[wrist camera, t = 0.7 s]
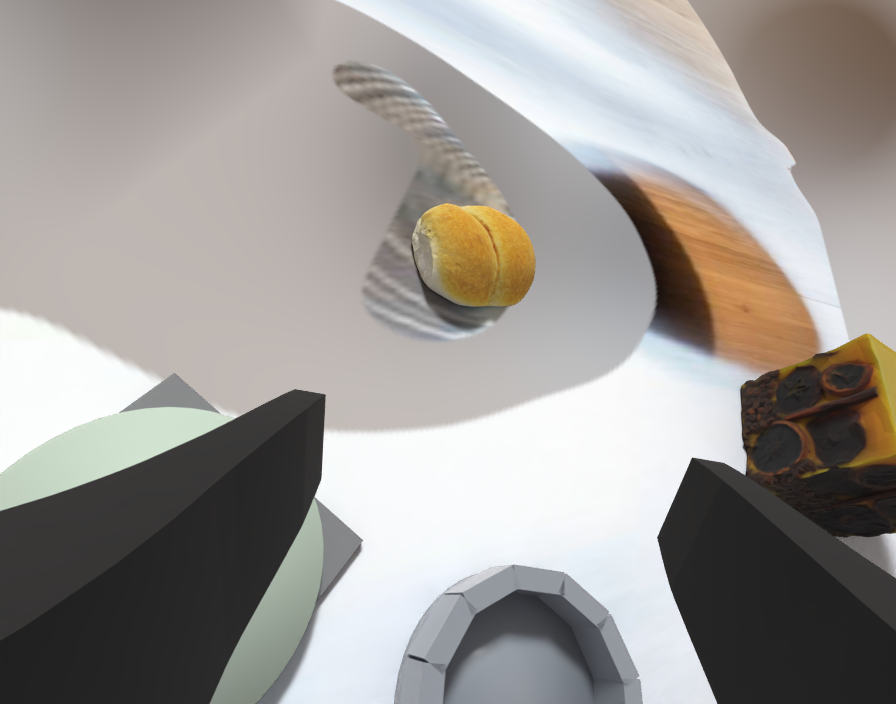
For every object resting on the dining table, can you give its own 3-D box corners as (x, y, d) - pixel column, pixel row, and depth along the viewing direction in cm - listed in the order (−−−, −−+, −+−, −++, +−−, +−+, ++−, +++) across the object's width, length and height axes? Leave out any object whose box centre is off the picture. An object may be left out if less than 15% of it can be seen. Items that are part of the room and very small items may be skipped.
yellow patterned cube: (742, 489, 35) (900, 456, 27) (736, 381, 40) (864, 326, 32) (840, 543, 37) (1016, 526, 28) (821, 432, 42) (962, 392, 34)
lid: (121, 882, 15) (90, 972, 11) (-186, 611, 15) (-318, 615, 11) (377, 538, 22) (406, 526, 19) (176, 359, 22) (167, 313, 19)
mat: (126, 847, 15) (124, 852, 15) (-146, 607, 15) (-154, 607, 15) (361, 541, 22) (363, 540, 22) (175, 376, 22) (174, 372, 22)
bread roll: (535, 310, 35) (568, 281, 31) (427, 315, 30) (451, 281, 27) (502, 222, 37) (528, 186, 34) (398, 215, 33) (417, 174, 30)
